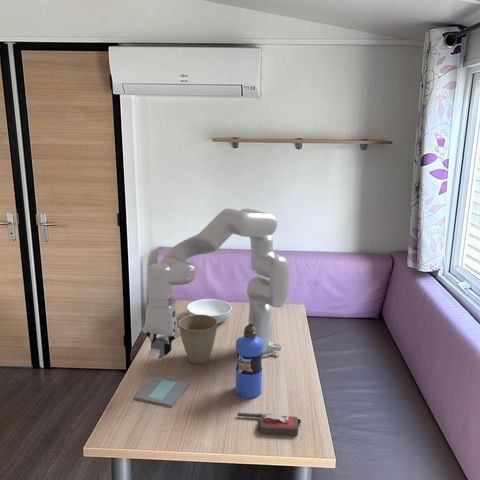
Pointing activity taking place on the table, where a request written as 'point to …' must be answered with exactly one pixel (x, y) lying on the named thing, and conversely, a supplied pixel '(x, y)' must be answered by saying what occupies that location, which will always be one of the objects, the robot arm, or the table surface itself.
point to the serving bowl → (210, 308)
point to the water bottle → (249, 364)
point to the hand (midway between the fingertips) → (161, 351)
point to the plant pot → (198, 336)
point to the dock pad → (162, 391)
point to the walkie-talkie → (276, 423)
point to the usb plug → (157, 348)
